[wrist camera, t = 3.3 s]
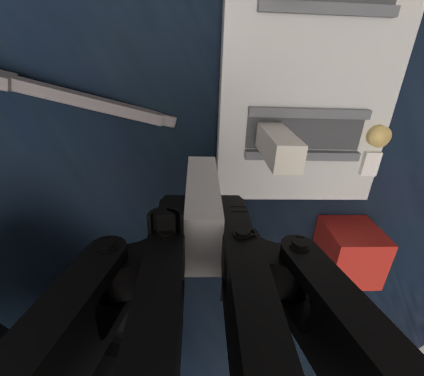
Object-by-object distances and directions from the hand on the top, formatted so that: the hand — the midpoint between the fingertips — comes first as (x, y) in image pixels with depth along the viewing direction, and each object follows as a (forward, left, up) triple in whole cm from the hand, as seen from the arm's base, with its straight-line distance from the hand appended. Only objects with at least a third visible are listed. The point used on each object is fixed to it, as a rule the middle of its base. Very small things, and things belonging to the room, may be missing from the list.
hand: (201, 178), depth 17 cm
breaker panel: (+10, +6, -13) cm, 17 cm away
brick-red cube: (+17, -13, -13) cm, 25 cm away
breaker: (+6, 0, -11) cm, 12 cm away
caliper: (-12, +3, -14) cm, 18 cm away
